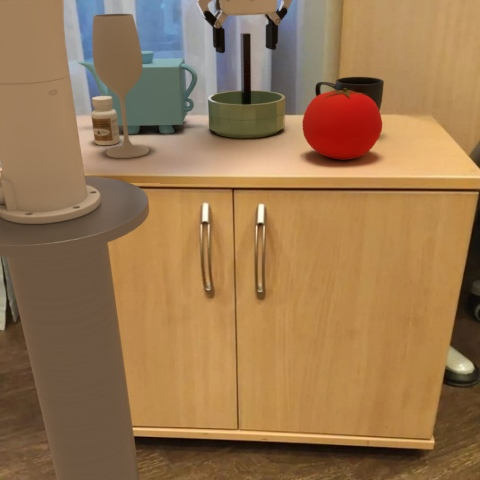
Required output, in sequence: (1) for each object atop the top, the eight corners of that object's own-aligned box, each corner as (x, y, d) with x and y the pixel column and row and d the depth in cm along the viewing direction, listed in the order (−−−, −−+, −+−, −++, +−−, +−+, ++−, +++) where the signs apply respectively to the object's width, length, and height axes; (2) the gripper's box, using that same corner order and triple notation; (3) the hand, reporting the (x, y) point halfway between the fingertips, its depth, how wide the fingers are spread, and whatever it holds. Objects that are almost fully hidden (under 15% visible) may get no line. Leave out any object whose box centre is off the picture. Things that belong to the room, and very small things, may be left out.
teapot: (201, 120, 122) (198, 46, 115) (197, 133, 112) (193, 54, 105) (93, 122, 122) (83, 48, 115) (79, 135, 112) (68, 56, 106)
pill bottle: (90, 144, 106) (84, 99, 103) (102, 138, 110) (97, 94, 106) (112, 146, 105) (107, 100, 101) (124, 140, 109) (119, 95, 105)
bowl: (224, 142, 106) (223, 107, 103) (199, 125, 118) (198, 93, 115) (297, 134, 110) (298, 100, 107) (266, 118, 122) (266, 87, 119)
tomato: (391, 160, 95) (399, 90, 90) (325, 171, 91) (329, 98, 86) (351, 143, 104) (355, 79, 99) (289, 153, 100) (290, 86, 94)
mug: (323, 126, 115) (326, 74, 111) (384, 133, 110) (390, 78, 105) (306, 136, 109) (308, 81, 104) (370, 143, 104) (375, 86, 99)
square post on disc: (239, 129, 111) (238, 35, 103) (231, 124, 115) (229, 33, 107) (261, 127, 112) (261, 33, 105) (252, 122, 116) (252, 31, 108)
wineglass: (134, 160, 97) (119, 17, 87) (95, 155, 100) (77, 16, 90) (158, 148, 103) (147, 13, 93) (121, 144, 106) (107, 13, 96)
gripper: (201, -63, 93) (206, 56, 101) (302, -63, 98) (299, 50, 107) (187, -61, 99) (193, 51, 108) (283, -61, 105) (281, 45, 113)
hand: (245, 50), depth 107 cm, fingers open, 9 cm apart
